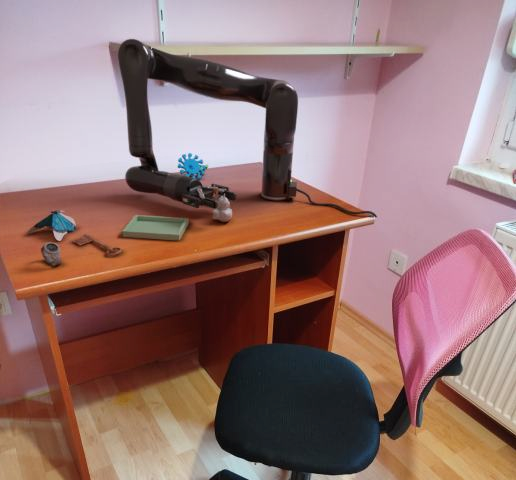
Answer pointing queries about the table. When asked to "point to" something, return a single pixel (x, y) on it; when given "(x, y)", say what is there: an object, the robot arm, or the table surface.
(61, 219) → the decorative butterfly
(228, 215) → the white plastic figurine
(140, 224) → the tray
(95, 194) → the table surface
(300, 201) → the table surface
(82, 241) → the key
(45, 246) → the grey round container
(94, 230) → the table surface
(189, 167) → the blue virus model
